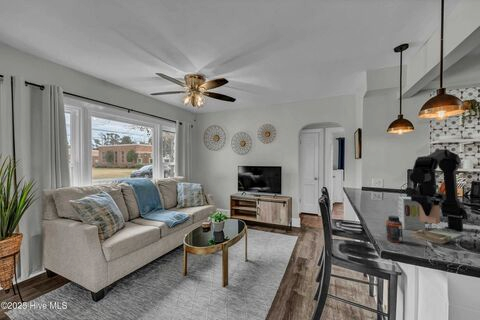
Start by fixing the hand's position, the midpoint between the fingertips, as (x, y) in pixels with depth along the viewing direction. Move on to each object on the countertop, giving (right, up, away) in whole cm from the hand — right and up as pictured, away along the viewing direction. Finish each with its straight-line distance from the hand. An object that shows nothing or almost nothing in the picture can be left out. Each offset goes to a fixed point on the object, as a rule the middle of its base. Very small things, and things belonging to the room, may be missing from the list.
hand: (429, 215), depth 96 cm
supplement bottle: (-19, -11, -3) cm, 22 cm away
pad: (+12, -11, +5) cm, 17 cm away
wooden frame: (0, -11, -1) cm, 11 cm away
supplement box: (+5, -12, +17) cm, 21 cm away
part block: (0, -3, 0) cm, 3 cm away
